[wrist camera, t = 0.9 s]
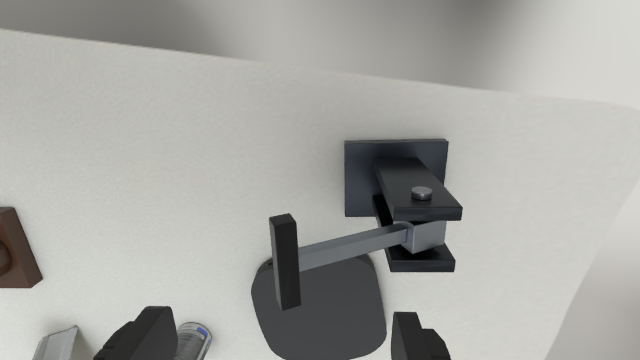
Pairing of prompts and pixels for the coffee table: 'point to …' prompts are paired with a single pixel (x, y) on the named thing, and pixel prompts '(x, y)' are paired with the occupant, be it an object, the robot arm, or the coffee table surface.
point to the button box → (15, 254)
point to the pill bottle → (192, 342)
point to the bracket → (402, 193)
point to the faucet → (56, 346)
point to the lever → (339, 249)
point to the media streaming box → (323, 312)
